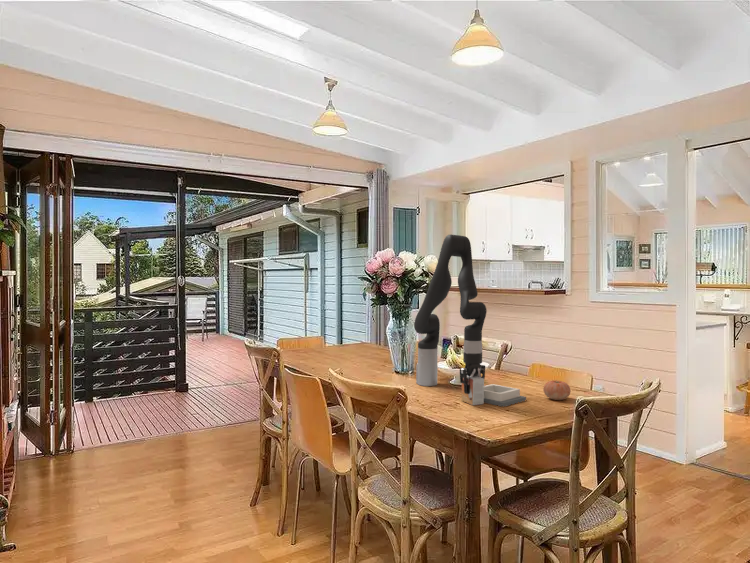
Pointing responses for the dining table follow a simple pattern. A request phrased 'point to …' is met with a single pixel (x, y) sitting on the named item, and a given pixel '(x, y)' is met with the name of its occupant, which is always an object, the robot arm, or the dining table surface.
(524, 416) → the dining table surface
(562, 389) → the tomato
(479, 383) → the small box
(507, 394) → the socket board
